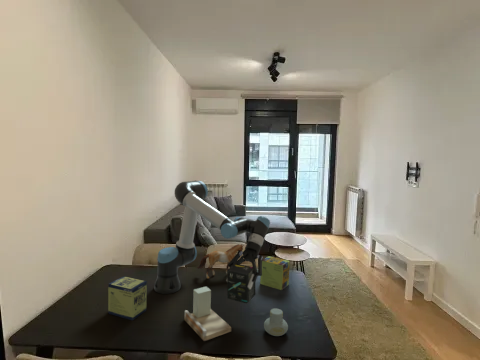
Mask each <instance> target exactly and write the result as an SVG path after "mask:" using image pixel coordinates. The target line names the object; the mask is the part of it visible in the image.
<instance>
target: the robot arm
mask: <svg viewBox="0 0 480 360" xmlns="http://www.w3.org/2000/svg"><path fill="white" fill-rule="evenodd" d="M208 195H209V191H208V186H207V185H206V184H205V182H204V181H201V180H191V181H189V180H188V181H181V182H179V183H178V184H177V185H176V186H175V188H174V198H175V199H176V200H177V202H178V203H179V204H181V205H182V206H183V207H184V210H183V215H182V222H181V228H180V232H179V240H176V243H175V247H173V246H169V247H164V248H162V249H160V250H159V252H158V253H157V259H156V260H157V277H156V280H155V281H154V289H153V290H154V292H156V293H158V294H162V295H168V294H173V293H176V292H178V291H180V289H181V281H180V278H179V275H178V273H179V272H178V271H179V268H181V267H184V266H186V265H189V264H191V263H192V262H194V261H196V258H197V256H198V252H197V251H198V250H197V248H196V244H195V242H194V238H195V233H196V227H197V221H198V215H199V216H200V217H202V218H203V219H205V221H207V222H209V223H210V224H211V225H213V226H214V227H216V228H217V229H218V230H220V234H221V236H222V237H223V238H224V239H232V238H235V237H237V236H240V235H242V234H245V233H248V234H250V235H249V237H248V240H247V242H246V245H245V248H244V249H243V250H244V251H243V250H242V251H240V250H238V251H237V253H236V255H235V257H234V258H233V259H232V260H231V261H230V262H229V264H228V268H229V269H230V268H231V267H232V266H234V265H236V264H240V265H242V263H245V262H249V263H251V267H253V271H254V274H252V276H251V279H250V281H249V284H248V288H249V289H251V288H252V285H253V282H254V283H255V284H256V281H257V279H258V277H260V276H262V260H263V259H264V257H263V255H262V254H260V252H261V249H262V246H263V244H264V242H265V238H266V235H267V233H268V230H269V229H270V224H271V221H270V219H269V218H267V217H266V216H263V215H260V216H258V217H257V218H256V219H251V218H246V217H243V216H241V217H239V216H238V217H235V219H234V220H232V219H230V218H229V217H227V215H224V214H223V213H222V212H220V211H219V210H218V209H216V208H215V207H214V206H211V204H209V203H208V202H206V201H204V199H205V198H206V197H208ZM256 260H257V262H256ZM256 263H257V264H256ZM225 281H226V282H227V279H226V280H225Z"/></svg>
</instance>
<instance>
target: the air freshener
mask: <svg viewBox="0 0 480 360" xmlns="http://www.w3.org/2000/svg"><path fill="white" fill-rule="evenodd" d="M283 317H284V312H283V310H282V309H279V308H276V307H275V308H271V309H270V310H269V317H267V318H266V319H265V321H264V322H263V327H264V330H265V332H266V333H267V334H268V335H271V336H273V337H280V336H283V335H285V334H286V333H287V331H288V329H289V325H288V323H287V321H286V320H285V319H284V318H283Z"/></svg>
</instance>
